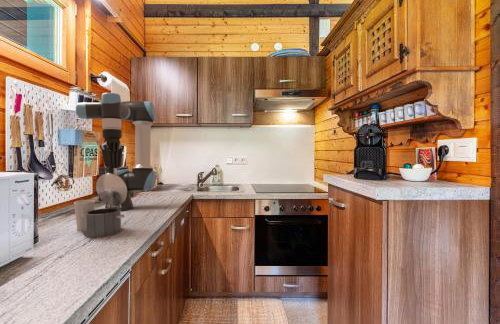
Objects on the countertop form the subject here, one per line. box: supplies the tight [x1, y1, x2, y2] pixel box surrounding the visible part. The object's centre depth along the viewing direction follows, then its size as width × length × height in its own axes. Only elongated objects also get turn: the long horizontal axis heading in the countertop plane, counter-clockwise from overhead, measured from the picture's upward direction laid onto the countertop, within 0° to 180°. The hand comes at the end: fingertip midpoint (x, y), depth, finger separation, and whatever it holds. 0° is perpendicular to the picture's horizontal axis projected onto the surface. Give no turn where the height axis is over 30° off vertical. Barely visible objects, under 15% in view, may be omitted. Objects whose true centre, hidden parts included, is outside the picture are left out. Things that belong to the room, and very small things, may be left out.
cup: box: [73, 199, 96, 232], centre depth 122 cm, size 8×8×12 cm
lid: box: [95, 172, 127, 208], centre depth 122 cm, size 16×15×3 cm
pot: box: [81, 206, 125, 239], centre depth 116 cm, size 15×19×10 cm
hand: (113, 183), depth 122 cm, fingers closed
